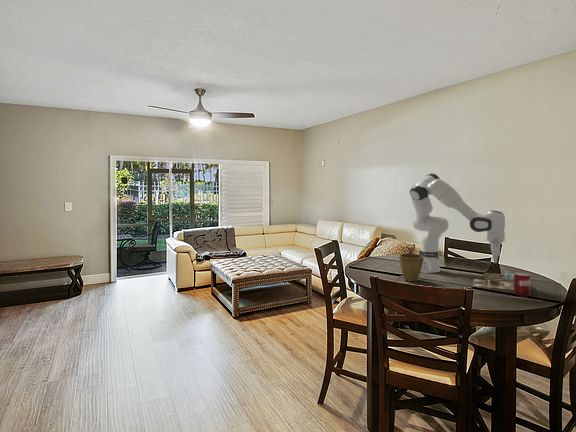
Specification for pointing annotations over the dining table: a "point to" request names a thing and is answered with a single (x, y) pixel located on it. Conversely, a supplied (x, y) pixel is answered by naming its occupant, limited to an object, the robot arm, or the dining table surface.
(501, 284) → the board
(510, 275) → the lid
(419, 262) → the plant pot
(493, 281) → the block
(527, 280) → the soda can
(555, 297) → the dining table surface
